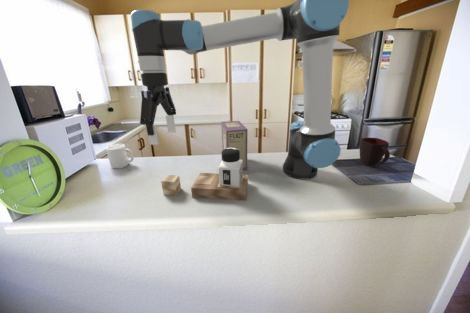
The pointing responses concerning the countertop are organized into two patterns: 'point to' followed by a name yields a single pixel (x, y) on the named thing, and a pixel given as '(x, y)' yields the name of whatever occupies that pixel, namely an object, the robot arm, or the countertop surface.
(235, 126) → the box
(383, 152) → the mug
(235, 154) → the container
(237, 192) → the base board
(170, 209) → the countertop surface
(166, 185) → the oak cube
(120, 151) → the cup
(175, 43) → the robot arm
